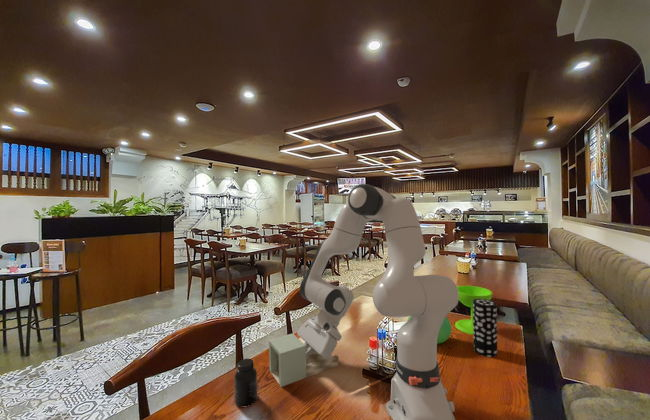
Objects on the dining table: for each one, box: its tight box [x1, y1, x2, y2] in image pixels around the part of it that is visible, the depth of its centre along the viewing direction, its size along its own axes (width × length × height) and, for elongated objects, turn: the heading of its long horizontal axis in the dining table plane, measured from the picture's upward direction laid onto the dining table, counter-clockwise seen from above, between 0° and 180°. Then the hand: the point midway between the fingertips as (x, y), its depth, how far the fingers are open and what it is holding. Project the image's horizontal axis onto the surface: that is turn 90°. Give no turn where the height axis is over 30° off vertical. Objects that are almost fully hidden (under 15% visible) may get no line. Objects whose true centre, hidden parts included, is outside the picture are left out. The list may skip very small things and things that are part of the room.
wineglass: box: [454, 285, 493, 336], centre depth 132 cm, size 16×16×18 cm
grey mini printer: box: [270, 349, 340, 388], centre depth 102 cm, size 23×11×4 cm, turn 121°
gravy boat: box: [407, 316, 452, 345], centre depth 121 cm, size 18×17×15 cm
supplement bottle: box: [233, 358, 258, 407], centre depth 86 cm, size 7×7×12 cm
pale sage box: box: [268, 333, 308, 388], centre depth 99 cm, size 10×11×11 cm
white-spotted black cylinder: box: [472, 299, 498, 358], centre depth 111 cm, size 8×8×20 cm
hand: (302, 357), depth 102 cm, fingers closed
